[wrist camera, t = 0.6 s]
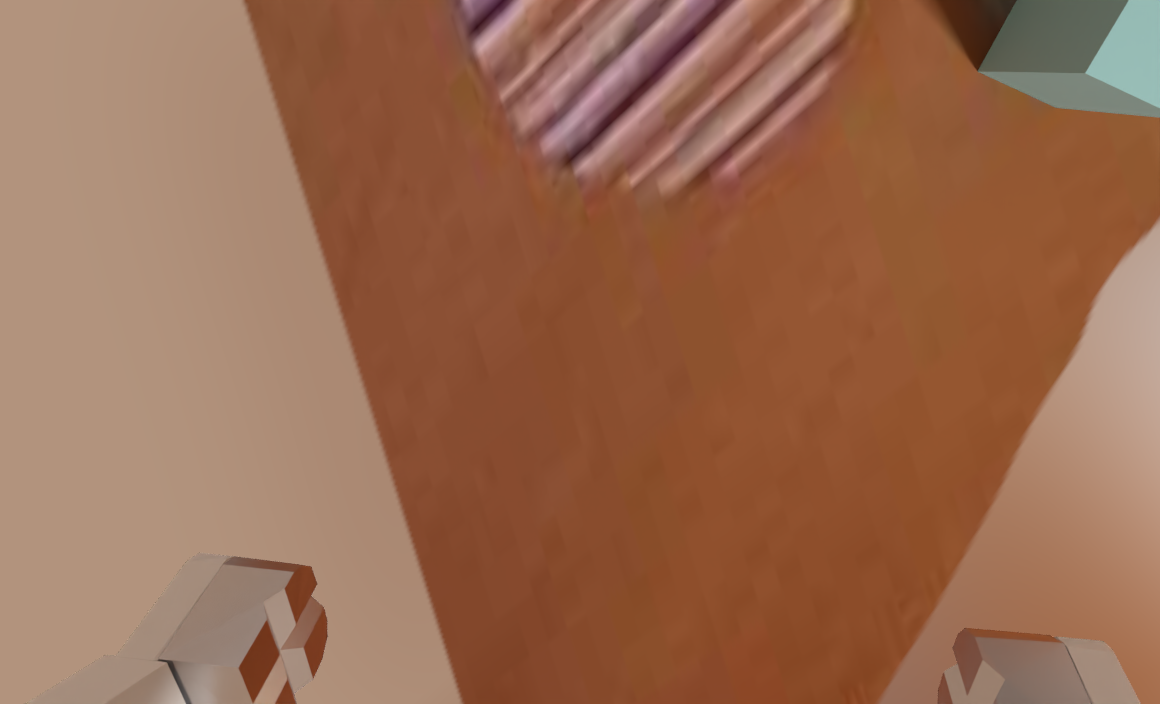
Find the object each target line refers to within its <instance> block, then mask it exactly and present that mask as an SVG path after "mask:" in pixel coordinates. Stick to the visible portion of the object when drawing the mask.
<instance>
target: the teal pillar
mask: <svg viewBox="0 0 1160 704" xmlns="http://www.w3.org/2000/svg"><path fill="white" fill-rule="evenodd" d="M978 72H980V73H982V74H984V75H986V76H988V77H991V78H993V79H995V80H997V81H999V82H1001V83H1004V84H1006V85H1008V86H1010V87H1012V88H1014V89H1017V90H1019V91H1021V92H1023V93H1025V94H1027V95H1030V96H1032V97H1034V98H1036V99H1038V100H1040V101H1043V102H1045V103H1047V104H1049V105H1051V106H1053V107H1056V108H1064V109H1075V110H1085V111H1096V112H1107V113H1118V114H1128V115H1139V116H1150V117H1160V0H1017V1H1016V3H1015V4H1014V6H1013V8H1012V10H1011V12H1010V13H1009V15H1008V17H1007V19H1006V21H1005V23H1004V24H1003V26H1002V28H1001V30H1000V32H999V33H998V35H997V37H996V39H995V41H994V42H993V44H992V46H991V48H990V50H989V52H988V53H987V55H986V57H985V59H984V61H983V62H982V64H981V66H980V68H979V70H978Z"/></svg>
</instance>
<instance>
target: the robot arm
mask: <svg viewBox="0 0 1160 704" xmlns="http://www.w3.org/2000/svg"><path fill="white" fill-rule="evenodd" d="M316 585H317V581H316V579H315V576H314V573H313V570H312V567H311V566H305V565H299V564H291V563H282V562H274V561H267V560H259V559H251V558H242V557H235V556H234V557H233V556H224V555H215V554H206V553H198V554H197V555H195V556H193V557H192V558H191V559H189V560H187V561H186V562H185V564H184V565H183V566H182V568H181V569H180V570H179V572H178V573H177V574H176V576H175V577H174V578H173V580H172V581H171V582H170V584H169V585H168V587H167V588H166V589H165V590H164V592H163V593H162V594H161V596H160V597H159V598H158V600H157V601H156V602H155V604H154V605H153V607H152V608H151V609H150V611H149V612H148V613H147V615H146V616H145V617H144V619H143V620H142V621H141V623H140V624H139V625H138V627H137V628H136V629H135V631H134V632H133V633H132V635H131V636H130V637H129V639H128V640H127V641H126V643H125V644H124V645H123V647H122V648H121V649H120V651H119V652H118V654H117V655H116V656H112V655H104V656H103V657H101V658H99V659H97V660H96V661H94V662H92V663H91V664H89V665H88V666H86V667H84V668H83V669H81V670H79V671H78V672H76V673H75V674H73V675H71V676H70V677H68V678H66V679H65V680H63V681H62V682H60V683H58V684H56V685H55V686H53V687H52V688H50V689H48V690H47V691H45V692H43V693H42V694H40V695H39V696H37V697H35V698H34V699H32V700H30V701H29V702H27V703H25V704H297V703H296V699H295V694H294V693H296V692H297V691H298V690H299V689H301V688H302V687H304V686H305V685H306V684H307V683H309V682H310V681H311V680H313V678H314V676H315V674H316V672H317V670H318V668H319V665H320V663H321V660H322V658H323V654H324V650H325V645H326V641H327V637H328V635H327V617H326V613H325V609H324V607H323V606H322V605H321V604H320V603H319V602H318V601H317V600H315V599H314V598H313V597H312V596H311V595H312V593H313V591H314V590H315V588H316ZM953 651H954V654H955V657H956V661H957V664H956V665H954V666H952V667H951V668H949V669H947V670H946V671H944V673H943V676H942V679H941V683H940V686H939V689H938V704H1141V703H1140V701H1139V700H1138V697H1137V696H1136V694H1135V692H1134V690H1133V688H1132V686H1131V684H1130V682H1129V680H1128V678H1127V676H1126V675H1125V673H1124V671H1123V669H1122V667H1121V665H1120V663H1119V661H1118V659H1117V657H1116V655H1115V653H1114V652H1113V650H1112V649H1111V648H1110V647H1109V646H1108V645H1107V644H1106V643H1105V642H1104V641H1097V640H1087V639H1076V638H1066V637H1052V636H1050V635H1041V634H1030V633H1018V632H1007V631H995V630H982V629H971V628H964V629H963V630H962V631H961V632H960V633H958V635H957V638H956V640H955V643H954V646H953Z"/></svg>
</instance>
